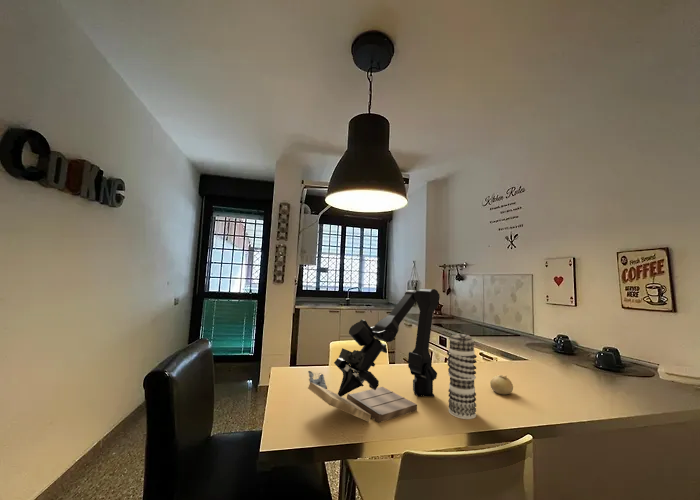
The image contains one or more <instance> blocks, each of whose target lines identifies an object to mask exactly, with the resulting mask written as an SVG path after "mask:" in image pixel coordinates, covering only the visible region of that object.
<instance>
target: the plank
mask: <svg viewBox="0 0 700 500" xmlns="http://www.w3.org/2000/svg"><path fill="white" fill-rule="evenodd" d="M307 389H308V390H309V391H311V392H312V393H313V394H315V395H316V396H317V397H318V398H320V399H321V400H322V401H324V402H325V403H326V404H327V405H329V406H331V407H333V408H335V409H338V410H340V411H342V412H345V413H347V414H350V415H352V416H354V417H356V418H358V419H361V420H364V421H366V422H368V423H369V422H370V420H371V415H370V414H369V413H367V412H366V411H364V410H363V409H361V408H360V407H358V406H357V405H355V404H354V403H352V402H351V401H349V400H348V399H347V397H344V396H342V397H340V396H339V395H338V393H335V392H333V391H331V390H328V389H327V388H322V387H320V386H318V385H316V384H314V383H312V382H311V383H310V382H309V385H308V387H307Z"/></svg>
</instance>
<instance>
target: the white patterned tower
mask: <svg viewBox="0 0 700 500" xmlns="http://www.w3.org/2000/svg"><path fill="white" fill-rule="evenodd" d="M448 340H449V347H448V351H446V354H447V355H448V357H446V358H447V366H448V368H447V370H448V376H449V384H448V386H449V388H448V392H449V393H448V397H449V398H448V402H447V403H448V413H449V414H450V415H451V416H453V417H455V418H458V419H462V420H473V419H475V418H476V417H477V414H476V412H477V408H476V407H477V403H476V401H477V397H476V396H477V392H476V386H475V380H476V378H477V376H476V374H477V372H476V370H477V366H476V365H475V364H476V363H477V360H476V358H477V355H476V353H475V343H474V342H475V340H474V339H473V338H472V337H471V336H470V334H467V333H466V334H465V333H453V334H452V335H451V336H450V337H449V338H448Z"/></svg>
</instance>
